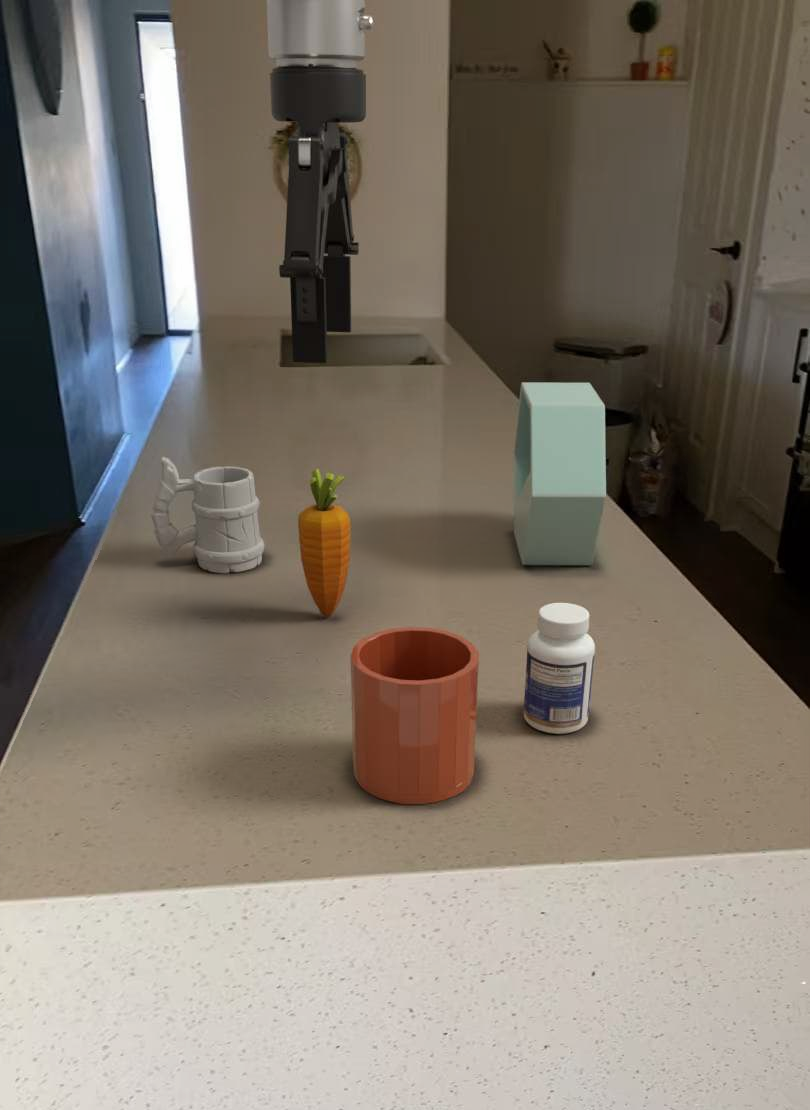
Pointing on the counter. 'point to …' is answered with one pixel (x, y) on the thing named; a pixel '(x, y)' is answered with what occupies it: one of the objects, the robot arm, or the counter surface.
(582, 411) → the planter
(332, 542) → the carrot
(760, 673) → the counter surface
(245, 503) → the mug
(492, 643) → the counter surface
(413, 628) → the cup
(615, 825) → the counter surface
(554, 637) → the pill bottle
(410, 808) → the counter surface
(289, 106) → the robot arm
